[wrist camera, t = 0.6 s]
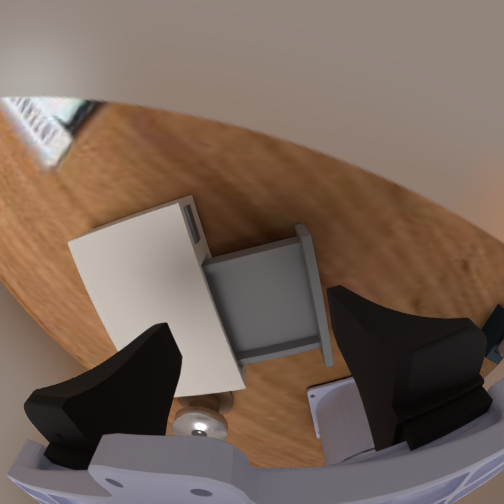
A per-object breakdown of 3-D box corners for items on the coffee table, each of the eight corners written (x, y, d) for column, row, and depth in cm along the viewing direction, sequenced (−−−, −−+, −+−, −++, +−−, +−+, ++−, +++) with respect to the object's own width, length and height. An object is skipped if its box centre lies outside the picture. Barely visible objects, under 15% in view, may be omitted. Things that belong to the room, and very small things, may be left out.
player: (194, 193, 20) (181, 202, 16) (249, 358, 24) (248, 388, 21) (92, 228, 21) (67, 242, 17) (158, 371, 25) (147, 398, 22)
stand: (240, 410, 27) (238, 435, 23) (191, 415, 27) (186, 439, 24) (223, 374, 25) (219, 401, 22) (170, 381, 26) (161, 406, 22)
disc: (234, 434, 23) (234, 446, 22) (187, 437, 24) (185, 448, 22) (217, 403, 22) (215, 416, 20) (166, 408, 22) (162, 419, 21)
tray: (302, 223, 20) (311, 234, 17) (325, 342, 23) (333, 365, 20) (182, 253, 20) (170, 270, 17) (224, 364, 24) (221, 388, 21)
